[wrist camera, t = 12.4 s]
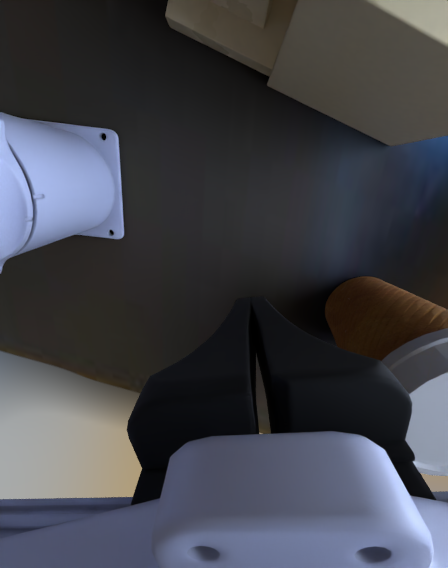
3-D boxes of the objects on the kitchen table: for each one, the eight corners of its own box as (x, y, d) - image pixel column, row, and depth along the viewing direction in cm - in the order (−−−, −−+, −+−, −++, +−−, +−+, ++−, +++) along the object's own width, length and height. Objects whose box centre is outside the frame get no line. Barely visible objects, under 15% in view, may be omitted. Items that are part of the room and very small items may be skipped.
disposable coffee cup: (333, 247, 21) (447, 326, 10) (433, 274, 21) (646, 376, 10) (292, 334, 24) (341, 463, 13) (378, 355, 25) (491, 493, 14)
